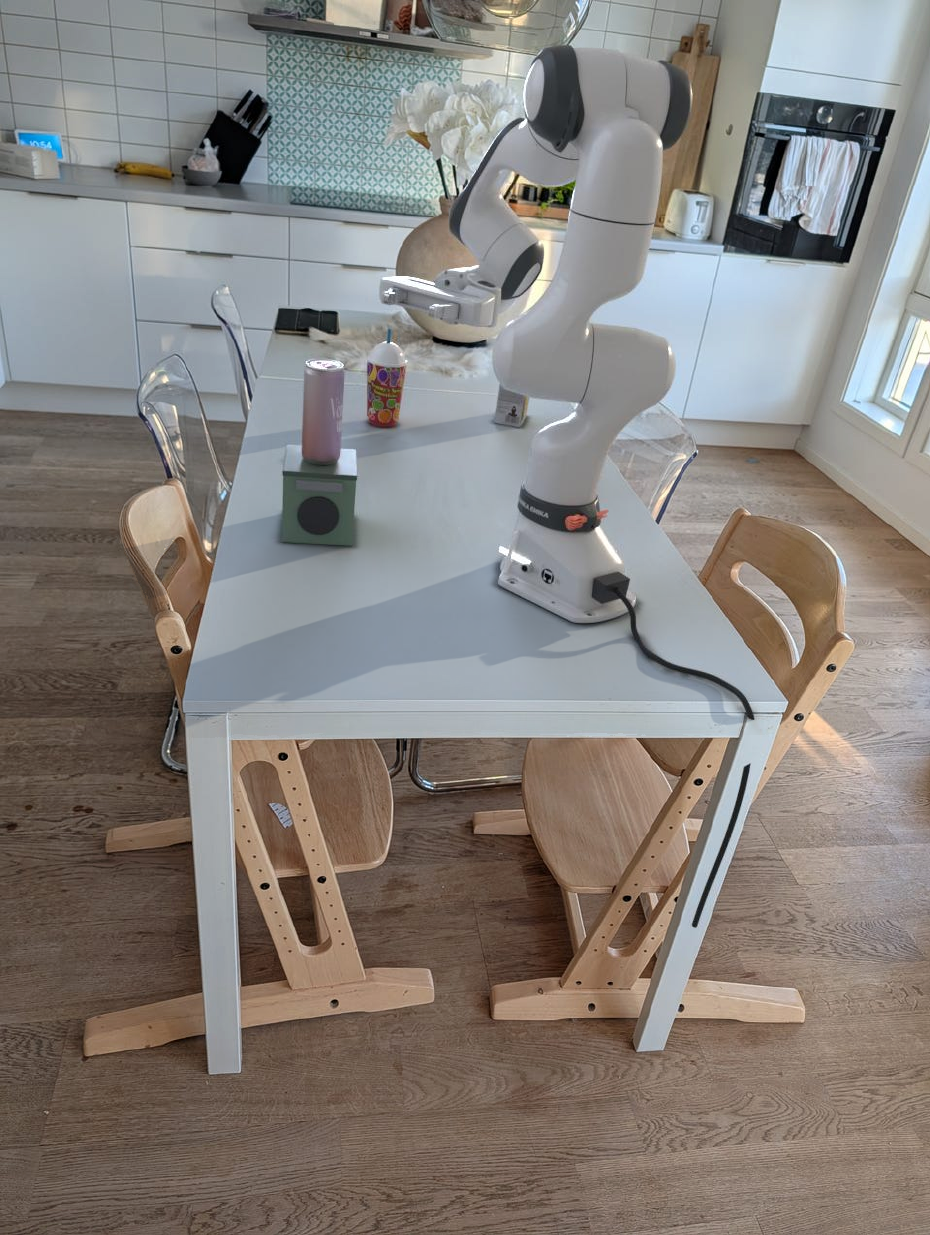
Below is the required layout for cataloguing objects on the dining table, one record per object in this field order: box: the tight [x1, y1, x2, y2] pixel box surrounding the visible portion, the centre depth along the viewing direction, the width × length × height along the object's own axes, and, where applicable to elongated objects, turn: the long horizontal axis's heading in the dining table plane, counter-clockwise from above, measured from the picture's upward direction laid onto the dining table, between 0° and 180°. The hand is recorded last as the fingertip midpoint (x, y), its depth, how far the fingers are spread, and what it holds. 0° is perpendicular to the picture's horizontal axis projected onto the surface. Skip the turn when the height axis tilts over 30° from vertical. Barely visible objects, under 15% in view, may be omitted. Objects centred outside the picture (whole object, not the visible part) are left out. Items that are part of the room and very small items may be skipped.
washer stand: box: [281, 444, 358, 547], centre depth 146 cm, size 12×11×12 cm
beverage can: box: [301, 358, 345, 465], centre depth 139 cm, size 6×6×15 cm
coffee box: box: [493, 383, 530, 428], centre depth 205 cm, size 9×6×16 cm
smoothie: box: [366, 328, 408, 428], centre depth 192 cm, size 8×8×20 cm
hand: (408, 305), depth 144 cm, fingers open, 8 cm apart
